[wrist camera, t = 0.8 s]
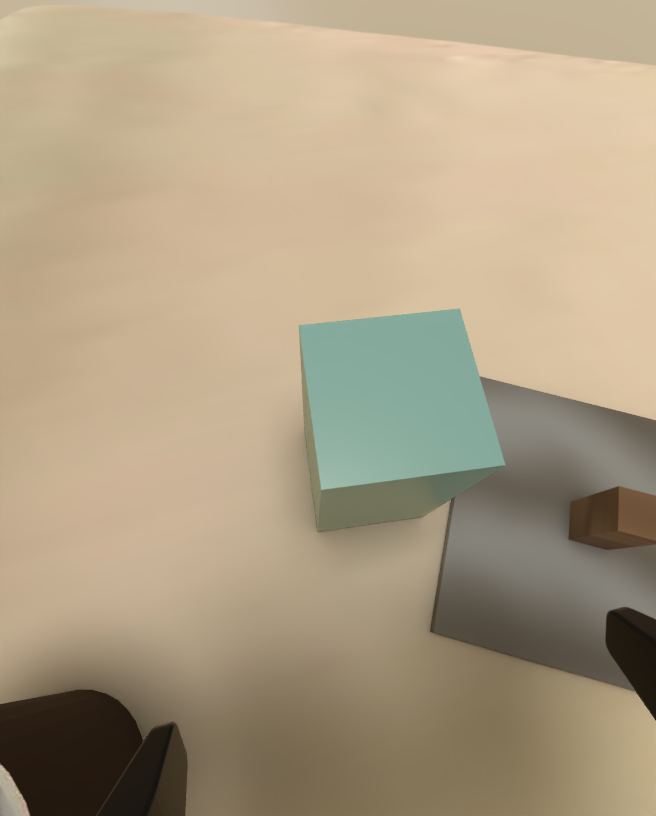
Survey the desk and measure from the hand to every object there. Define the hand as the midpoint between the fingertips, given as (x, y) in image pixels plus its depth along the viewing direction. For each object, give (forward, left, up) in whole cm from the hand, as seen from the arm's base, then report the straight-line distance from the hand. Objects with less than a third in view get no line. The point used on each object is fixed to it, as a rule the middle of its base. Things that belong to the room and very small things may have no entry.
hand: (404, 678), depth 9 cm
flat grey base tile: (+7, -12, -14) cm, 19 cm away
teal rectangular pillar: (+8, 0, -14) cm, 16 cm away
